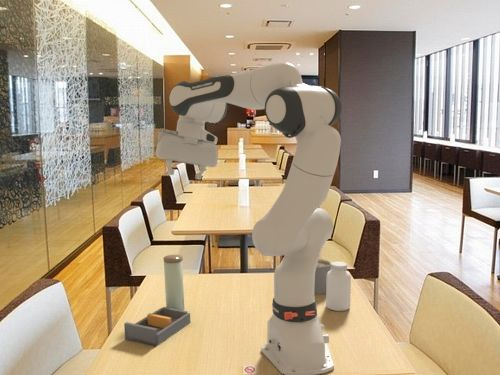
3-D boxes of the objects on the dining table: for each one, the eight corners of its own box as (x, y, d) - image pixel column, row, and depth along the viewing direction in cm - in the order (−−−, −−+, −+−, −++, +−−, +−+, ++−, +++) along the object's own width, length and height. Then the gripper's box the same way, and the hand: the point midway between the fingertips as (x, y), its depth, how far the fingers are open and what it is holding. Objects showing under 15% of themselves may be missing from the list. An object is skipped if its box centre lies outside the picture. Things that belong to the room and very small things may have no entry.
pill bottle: (355, 307, 171) (356, 264, 169) (337, 313, 167) (338, 269, 164) (338, 300, 178) (338, 258, 175) (321, 306, 173) (321, 263, 171)
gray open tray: (161, 316, 167) (161, 301, 166) (190, 322, 162) (189, 307, 161) (125, 339, 151) (124, 323, 150) (155, 346, 146) (154, 330, 146)
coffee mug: (303, 294, 184) (303, 267, 183) (303, 284, 194) (303, 258, 192) (341, 294, 183) (342, 267, 182) (339, 284, 193) (339, 259, 191)
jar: (185, 311, 171) (183, 259, 168) (166, 313, 170) (163, 260, 167) (184, 304, 177) (181, 254, 174) (165, 306, 176) (163, 255, 173)
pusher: (150, 323, 159) (149, 313, 159) (171, 327, 156) (171, 317, 155) (147, 324, 158) (147, 314, 158) (169, 329, 155) (168, 319, 154)
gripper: (162, 126, 157) (156, 171, 156) (222, 139, 167) (217, 181, 166) (155, 129, 163) (150, 172, 161) (213, 141, 173) (208, 182, 171)
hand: (184, 176), depth 164 cm, fingers open, 8 cm apart
